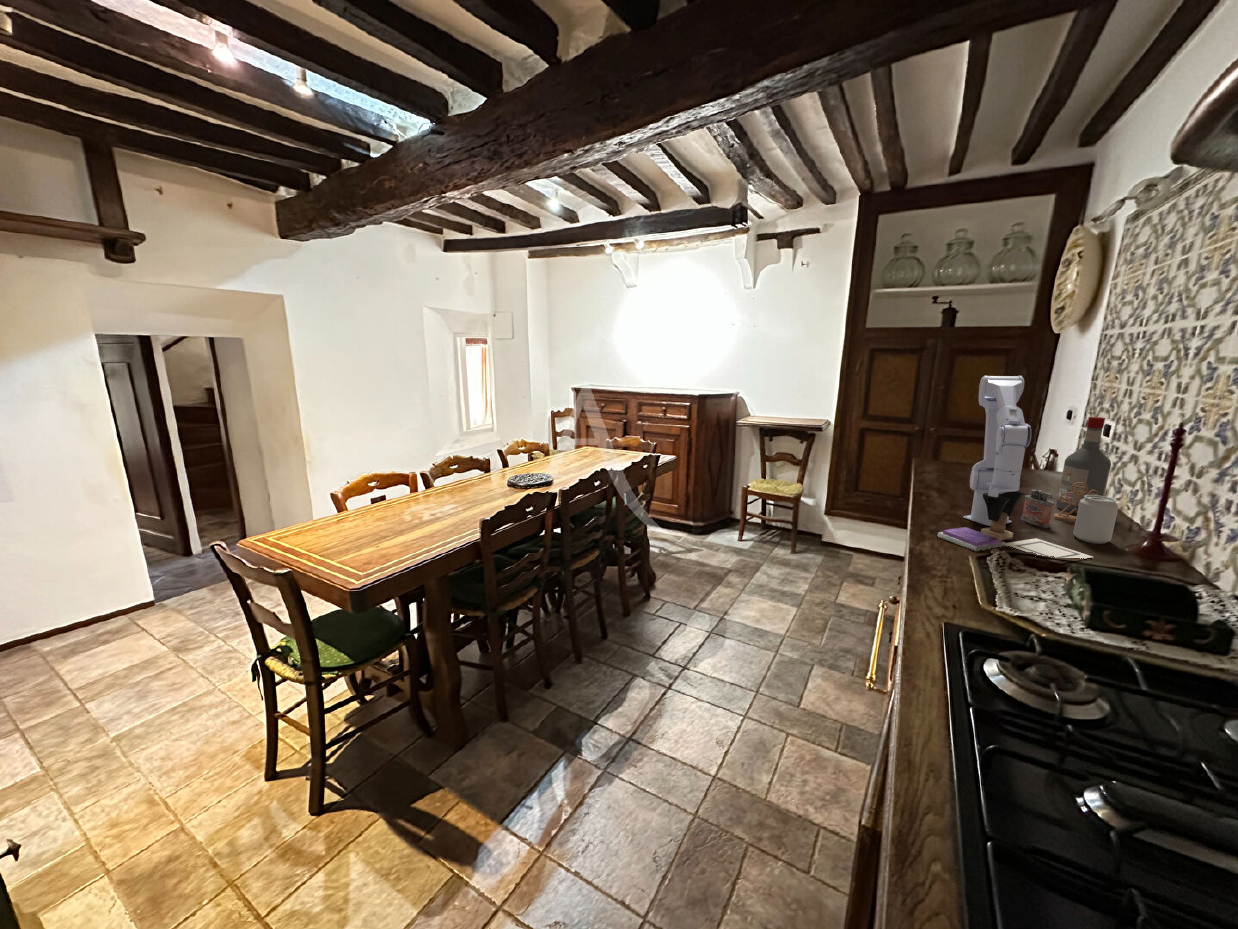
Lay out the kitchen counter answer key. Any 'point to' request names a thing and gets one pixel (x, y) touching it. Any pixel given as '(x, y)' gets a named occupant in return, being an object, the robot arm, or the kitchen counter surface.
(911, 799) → the kitchen counter surface
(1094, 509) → the can
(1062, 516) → the gingerbread man figurine
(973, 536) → the ink pad
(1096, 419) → the liquor
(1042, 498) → the lighter
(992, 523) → the stamp
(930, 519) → the kitchen counter surface
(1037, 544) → the marked card
